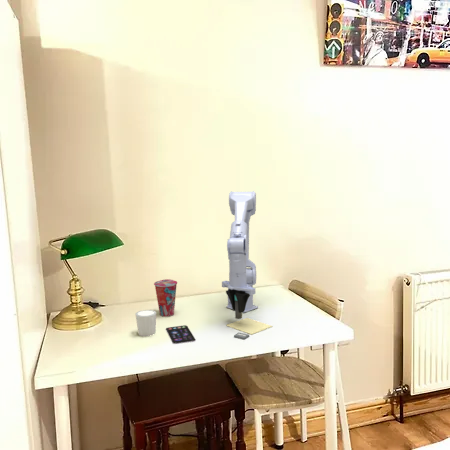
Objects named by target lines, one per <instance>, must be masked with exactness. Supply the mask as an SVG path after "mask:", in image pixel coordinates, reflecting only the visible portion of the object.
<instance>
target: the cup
mask: <svg viewBox="0 0 450 450" xmlns="http://www.w3.org/2000/svg"><path fill="white" fill-rule="evenodd" d="M177 284H178V281H177V280H174V279H170V278H169V279H167V278H166V279H165V278H164V279H162V280H161V279H160V280H158V281H155V282H154V283H153V285H154V288H155V294H156V301H157V305H158V309H159V310H158V311H159V315H160V316H161V317H165V318H166V317H167V318H168V317H171V316H174V315H175V307H176V296H177V295H176V294H177V287H178V286H177Z"/></svg>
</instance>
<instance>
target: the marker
mask: <svg viewBox="0 0 450 450" xmlns="http://www.w3.org/2000/svg"><path fill="white" fill-rule="evenodd" d="M234 297H235V311H234V316H235V317H234V318H235V319H236V320H242V319H243V313H242V312H241V313H239V310H238V301H237V298H236V295H234Z"/></svg>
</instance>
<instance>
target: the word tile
mask: <svg viewBox="0 0 450 450" xmlns="http://www.w3.org/2000/svg"><path fill="white" fill-rule="evenodd" d="M249 337H250V334H248V333H244V332H243V333H242V332H237V333H236V334H234V335H233V338H236V339H241V340H246V339H248V338H249Z"/></svg>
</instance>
